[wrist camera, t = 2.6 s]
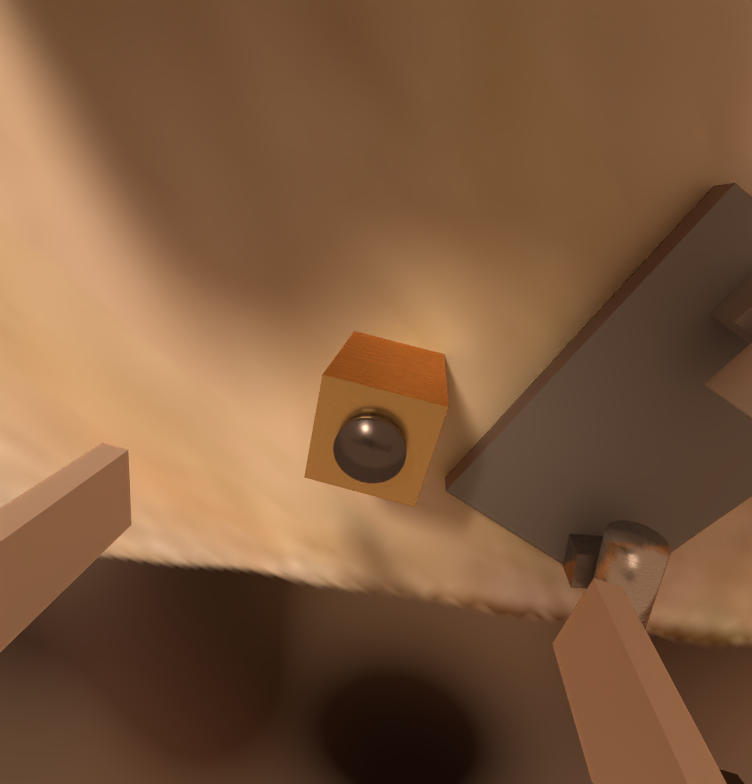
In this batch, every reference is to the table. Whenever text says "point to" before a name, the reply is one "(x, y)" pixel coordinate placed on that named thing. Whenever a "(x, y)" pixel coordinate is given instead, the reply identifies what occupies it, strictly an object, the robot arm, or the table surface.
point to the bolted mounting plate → (637, 401)
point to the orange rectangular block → (378, 418)
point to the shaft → (620, 561)
